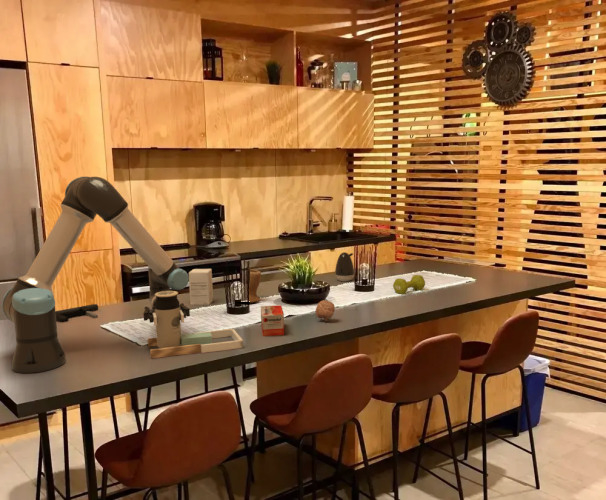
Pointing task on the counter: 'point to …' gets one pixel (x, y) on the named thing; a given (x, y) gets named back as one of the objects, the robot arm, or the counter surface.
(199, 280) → the supplement box
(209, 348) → the tray
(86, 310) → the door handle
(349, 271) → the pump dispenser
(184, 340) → the chip
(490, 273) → the counter surface
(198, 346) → the slot rails
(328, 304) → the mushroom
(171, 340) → the travel mug
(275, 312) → the medicine box
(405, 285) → the dumbbell
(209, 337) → the chip
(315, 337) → the counter surface
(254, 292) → the brown boot
